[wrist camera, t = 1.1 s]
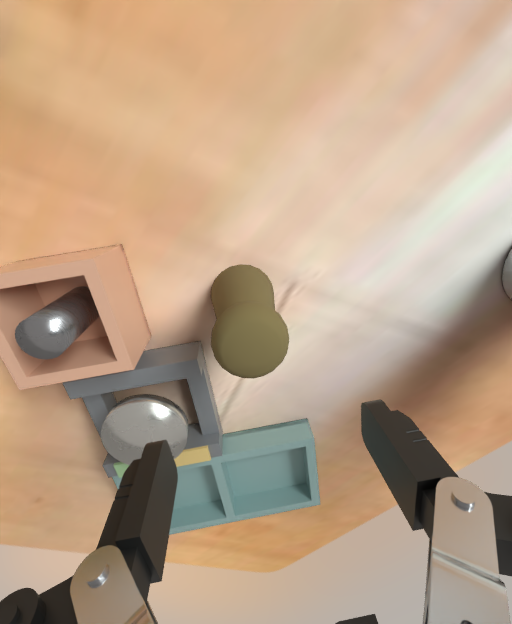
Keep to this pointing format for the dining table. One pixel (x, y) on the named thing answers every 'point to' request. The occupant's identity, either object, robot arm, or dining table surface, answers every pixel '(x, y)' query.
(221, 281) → the olive gourd
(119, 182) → the dining table surface
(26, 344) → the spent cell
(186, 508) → the teal divided tray
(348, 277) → the dining table surface
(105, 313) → the cup
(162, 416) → the silver domed disc
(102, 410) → the checker cradle
